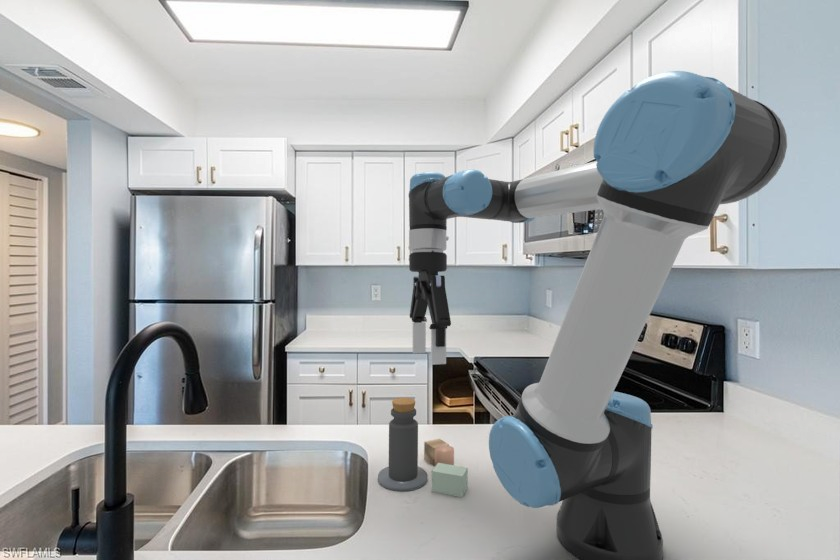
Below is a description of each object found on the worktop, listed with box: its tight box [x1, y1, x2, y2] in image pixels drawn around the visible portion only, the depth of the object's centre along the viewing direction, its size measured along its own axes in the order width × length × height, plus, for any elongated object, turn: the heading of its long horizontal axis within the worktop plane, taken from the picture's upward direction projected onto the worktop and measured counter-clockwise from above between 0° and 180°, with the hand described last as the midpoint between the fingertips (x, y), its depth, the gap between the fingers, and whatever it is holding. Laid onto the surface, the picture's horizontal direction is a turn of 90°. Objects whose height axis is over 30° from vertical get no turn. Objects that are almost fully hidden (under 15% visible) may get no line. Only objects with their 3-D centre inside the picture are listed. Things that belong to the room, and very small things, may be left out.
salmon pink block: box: [434, 445, 455, 467], centre depth 90 cm, size 4×4×5 cm
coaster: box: [377, 466, 429, 492], centre depth 87 cm, size 10×10×1 cm
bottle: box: [388, 397, 419, 482], centre depth 87 cm, size 6×6×15 cm
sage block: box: [431, 463, 469, 498], centre depth 83 cm, size 4×6×4 cm, turn 70°
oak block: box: [423, 438, 450, 467], centre depth 96 cm, size 4×4×4 cm
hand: (428, 358), depth 87 cm, fingers open, 13 cm apart
